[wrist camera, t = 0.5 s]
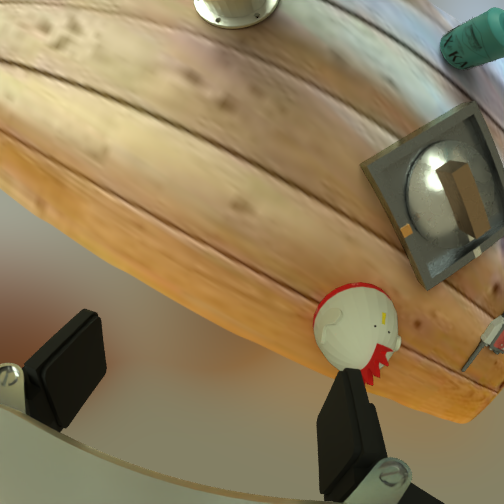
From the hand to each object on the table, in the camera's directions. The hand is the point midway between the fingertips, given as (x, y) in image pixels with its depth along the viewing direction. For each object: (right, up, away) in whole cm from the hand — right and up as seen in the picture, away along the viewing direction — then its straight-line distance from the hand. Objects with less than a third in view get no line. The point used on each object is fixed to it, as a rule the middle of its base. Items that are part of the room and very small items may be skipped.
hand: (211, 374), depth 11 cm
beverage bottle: (+32, +35, +22) cm, 53 cm away
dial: (+31, +13, +27) cm, 43 cm away
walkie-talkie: (+52, -12, +36) cm, 65 cm away
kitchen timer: (+18, -7, +38) cm, 43 cm away
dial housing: (+31, +14, +29) cm, 45 cm away
